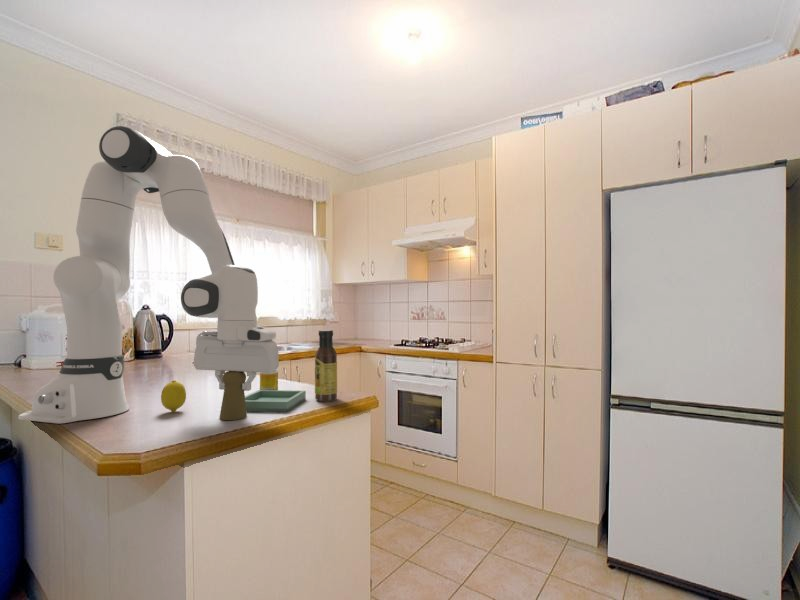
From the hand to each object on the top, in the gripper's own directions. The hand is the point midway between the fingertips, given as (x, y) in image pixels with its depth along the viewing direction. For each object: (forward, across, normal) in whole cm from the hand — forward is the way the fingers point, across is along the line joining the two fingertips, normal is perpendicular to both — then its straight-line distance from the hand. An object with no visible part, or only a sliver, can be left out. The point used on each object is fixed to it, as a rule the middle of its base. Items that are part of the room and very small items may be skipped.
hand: (235, 389), depth 96 cm
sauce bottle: (+6, +16, +20) cm, 27 cm away
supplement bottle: (+7, -4, +27) cm, 28 cm away
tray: (+6, +4, +13) cm, 15 cm away
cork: (+7, 0, 0) cm, 7 cm away
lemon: (+7, -18, +3) cm, 20 cm away
